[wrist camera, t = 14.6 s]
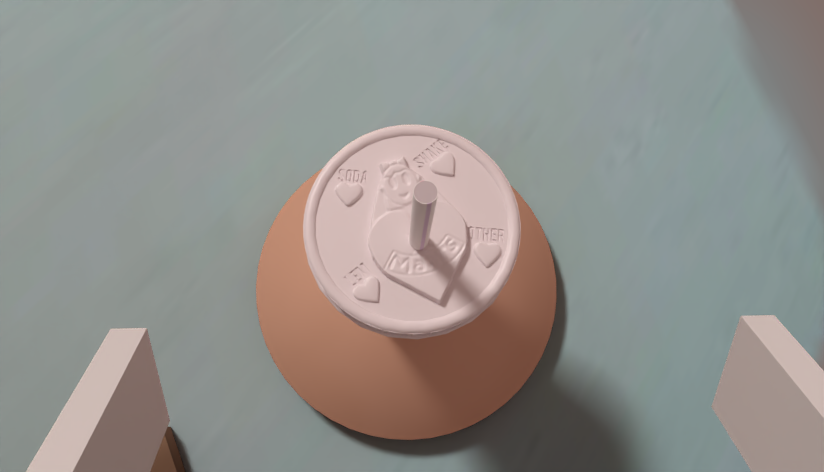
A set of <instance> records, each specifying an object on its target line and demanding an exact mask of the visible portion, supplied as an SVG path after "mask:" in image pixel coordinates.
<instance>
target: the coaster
mask: <svg viewBox="0 0 824 472" xmlns="http://www.w3.org/2000/svg"><path fill="white" fill-rule="evenodd" d="M321 170H322V169H321ZM321 170H320V171H318V172H317V173H316V174H314V175H313V176H312V177H311V178H309V179H308V180H307V181H306V182H305V183H303V184H302V185H301V186H300V188H299V189H298V190H297V191H296V192H295V193H294V194H293V195H292V196H291V197H290V198H289V200H288V201H287V202H286V204H285V205H284V207H283V208H282V209H281V211H280V212H279V214H278V215H277V217H276V219H275V221H274V223H273V225H272V226H271V228H270V230H269V233H268V235H267V238H266V241H265V243H264V246H263V249H262V253H261V257H260V261H259V265H258V274H257V283H256V295H257V309H258V316H259V322H260V326H261V330H262V333H263V336H264V339H265V343H266V345H267V347H268V349H269V352H270V354H271V356H272V358H273V360H274V362H275V364H276V365H277V367H278V368H279V370H280V372H281V373H282V375H283V376H284V378H285V379H286V380H287V382H288V383H289V384H290V385H291V386H292V388H293V389H294V390H295V391H296V392H297V393H298V394H299V395H300V396H301V397H302V398H303V399H304V400H305V401H306V402H307V403H309V404H310V405H311V406H312V407H313V408H314V409H316V410H317V411H319V412H320V413H322V414H323V415H325V416H326V417H328V418H329V419H331V420H333V421H335V422H337V423H339V424H341V425H343V426H345V427H347V428H349V429H352V430H355V431H358V432H361V433H364V434H367V435H371V436H376V437H382V438H387V439H402V440H414V439H425V438H433V437H437V436H442V435H446V434H450V433H453V432H456V431H459V430H461V429H464V428H466V427H469V426H471V425H473V424H475V423H477V422H479V421H480V420H482V419H484V418H486V417H488V416H489V415H491V414H492V413H493V412H495V411H496V410H497V409H499V408H500V407H501V406H503V405H504V404H505V403H506V402H507V401H508V400H509V399H510V398H511V397H512V396H513V395H514V394H515V393H517V392H518V391H519V390H520V388H521V387H522V386H523V384H524V383H525V382H526V381H527V379H528V378H529V377H530V375H531V374H532V373H533V371H534V369H535V367H536V366H537V364H538V362H539V360H540V359H541V357H542V355H543V352H544V350H545V347H546V345H547V342H548V340H549V337H550V333H551V329H552V326H553V322H554V316H555V308H556V275H555V269H554V262H553V258H552V254H551V251H550V247H549V244H548V241H547V239H546V237H545V234H544V232H543V230H542V227H541V225H540V223H539V222H538V220H537V218H536V217H535V215H534V213H533V212H532V210H531V208H530V207H529V206H528V205H527V203H526V202H525V201H524V199H523V198H522V197H521V196H520V194H519V193H518V192H517V191H516V190H515V189H514V188H513V187H512V186H511V185H510V186H511V188H512V190H513V193H514V195H515V198H516V202H517V205H518V210H519V215H520V223H521V236H520V245H519V251H518V255H517V259H516V262H515V265H514V267H513V270H512V272H511V274H510V276H509V279H508V281H507V283H506V284H505V286H504V287H503V289H502V290H501V292H500V293H499V295H498V296H497V298H496V299H495V301H494V302H493V304H491V305H490V306H489V307H488V308H487V309H486V310H485V311H483V312H482V313H481V314H480V315H479V316H478V317H477V318H475V319H474V320H473V321H472V322H470V323H468V324H466V325H464V326H462V327H460V328H458V329H456V330H454V331H451V332H449V333H447V334H444V335H439V336H433V337H428V338H422V339H406V338H394V337H387V336H384V335H381V334H378V333H376V332H373V331H370V330H367V329H365V328H362V327H360V326H359V325H357V324H356V323H354V322H353V321H351V320H350V319H349V318H347V317H346V316H344V315H343V314H341V313H340V312H339V311H337V310H336V308H335V307H334V306H333V305H332V303H331V302H330V301H329V300H328V299H327V297H326V296H325V295H324V294H323V293H322V291H321V290H320V289H319V287H318V284H317V282H316V280H315V278H314V276H313V273H312V271H311V269H310V267H309V264H308V259H307V254H306V250H305V245H304V238H303V220H304V212H305V207H306V203H307V199H308V196H309V193H310V191H311V188H312V186H313V184H314V182H315V180H316V178H317V177H318V175H319V174H320V172H321Z"/></svg>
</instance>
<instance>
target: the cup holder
mask: <svg viewBox="0 0 824 472" xmlns="http://www.w3.org/2000/svg"><path fill="white" fill-rule="evenodd" d="M150 472H185V469H184V466H183V463H182V460H181V457H180V454H179V451H178V448H177V445H176V442H175V439H174V436H173V433H172V430H171V427H167V429H166V432H165V434H164V437H163V440H162V442H161V445H160V447H159V450H158V453H157V455H156V458H155V460H154V463H153V466H152V468H151V471H150Z"/></svg>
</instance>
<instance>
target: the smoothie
mask: <svg viewBox="0 0 824 472" xmlns="http://www.w3.org/2000/svg"><path fill="white" fill-rule="evenodd" d="M520 236H521V223H520V215H519V210H518V205H517V202H516V198H515V195H514V193H513V190H512V188H511V186H510V184H509V182H508V180H507V179H506V177H505V175H504V174H503V172H502V171H501V169H500V168H499V167H498V165H497V164H496V163H495V162H494V161H493V160H492V159H491V158H490V157H489V156H488V155H487V154H486V153H485V152H484V151H483V150H481V149H480V148H479V147H478V146H476V145H475V144H473V143H472V142H470V141H469V140H467V139H465V138H463V137H461V136H459V135H457V134H455V133H452V132H450V131H447V130H443V129H440V128H436V127H431V126H424V125H398V126H391V127H386V128H382V129H379V130H376V131H373V132H370V133H368V134H365V135H363V136H361V137H359V138H357V139H356V140H354V141H352V142H351V143H349V144H348V145H346V146H345V147H343V148H342V149H341V150H340V151H339V152H337V153H336V154H335V155H334V156H333V157H332V158H331V159H330V160H329V161H328V163H327V164H326V165H325V166H324V168H323V169H322V170H321V172H320V174H319V175H318V177H317V178H316V180H315V182H314V184H313V186H312V188H311V191H310V193H309V196H308V199H307V203H306V207H305V212H304V220H303V238H304V245H305V250H306V254H307V259H308V264H309V267H310V269H311V271H312V273H313V276H314V278H315V280H316V282H317V284H318V287H319V289H320V290H321V291H322V293H323V294H324V295H325V296H326V297H327V299H328V300H329V301H330V302H331V303H332V305H333V306H334V307H335V308H336V310H337V311H339V312H340V313H341V314H343V315H344V316H346V317H347V318H349V319H350V320H351V321H353V322H354V323H356V324H357V325H359V326H360V327H362V328H365V329H367V330H370V331H373V332H376V333H378V334H381V335H384V336H387V337H394V338H406V339H422V338H428V337H433V336H439V335H444V334H447V333H449V332H451V331H454V330H456V329H458V328H460V327H462V326H464V325H466V324H468V323H470V322H472V321H473V320H474V319H475V318H477V317H478V316H479V315H480V314H481V313H482V312H483V311H485V310H486V309H487V308H488V307H489V306H490V305H491V304H493V302H494V301H495V299H496V298H497V296H498V295H499V293H500V292H501V290H502V289H503V287H504V286H505V284H506V283H507V281H508V279H509V276H510V274H511V272H512V270H513V267H514V265H515V262H516V259H517V255H518V251H519V245H520Z"/></svg>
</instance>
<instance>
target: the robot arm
mask: <svg viewBox="0 0 824 472" xmlns="http://www.w3.org/2000/svg"><path fill="white" fill-rule="evenodd" d="M712 408H713V410H714V411H715V413H716V415H717V416H718V418H719V419H720V421H721V423H722V424H723V426H724V427H725V429H726V431H727V432H728V434H729V436H730V437H731V439H732V440H733V442H734V444H735V445H736V447H737V449H738V450H739V452H740V453H741V455H742V457H743V458H744V460H745V461H746V463H747V465H748V466H749V468H750V470H751V471H752V472H824V371H823V370H822V369H821V368H820V366H819V365H818V364H817V363H816V362H815V361H814V360H813V358H812V357H811V356H810V355H809V354H808V353H807V352H806V351H805V349H804V348H803V347H802V346H801V345H800V344H799V343H798V342H797V340H796V339H795V338H794V337H793V336H792V335H791V334H790V333H789V331H788V330H787V329H786V328H785V327H784V326H783V325H782V324H781V322H780V321H779V320H778V319H777V318H776V317H775V316H774V315H761V316H741V317H740V320H739V323H738V326H737V329H736V332H735V335H734V339H733V342H732V345H731V348H730V351H729V354H728V357H727V360H726V363H725V366H724V370H723V373H722V376H721V379H720V382H719V385H718V388H717V391H716V394H715V397H714V401H713V404H712ZM169 422H170V419H169V415H168V411H167V407H166V403H165V399H164V395H163V391H162V387H161V383H160V379H159V375H158V371H157V367H156V363H155V359H154V355H153V351H152V347H151V343H150V339H149V335H148V331H147V328H126V329H110V331H109V333H108V334H107V336H106V338H105V339H104V341H103V343H102V344H101V346H100V348H99V349H98V351H97V353H96V354H95V356H94V358H93V360H92V361H91V363H90V365H89V366H88V368H87V370H86V371H85V373H84V375H83V376H82V378H81V380H80V381H79V383H78V385H77V386H76V388H75V390H74V392H73V393H72V395H71V397H70V398H69V400H68V402H67V403H66V405H65V407H64V408H63V410H62V412H61V413H60V415H59V417H58V418H57V420H56V422H55V424H54V425H53V427H52V429H51V430H50V432H49V434H48V435H47V437H46V439H45V440H44V442H43V444H42V445H41V447H40V449H39V450H38V452H37V454H36V456H35V457H34V459H33V461H32V462H31V464H30V466H29V467H28V469H27V471H26V472H150V471H151V468H152V466H153V463H154V460H155V458H156V455H157V453H158V450H159V447H160V445H161V442H162V440H163V437H164V434H165V432H166V429H167V427H168V424H169Z"/></svg>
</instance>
